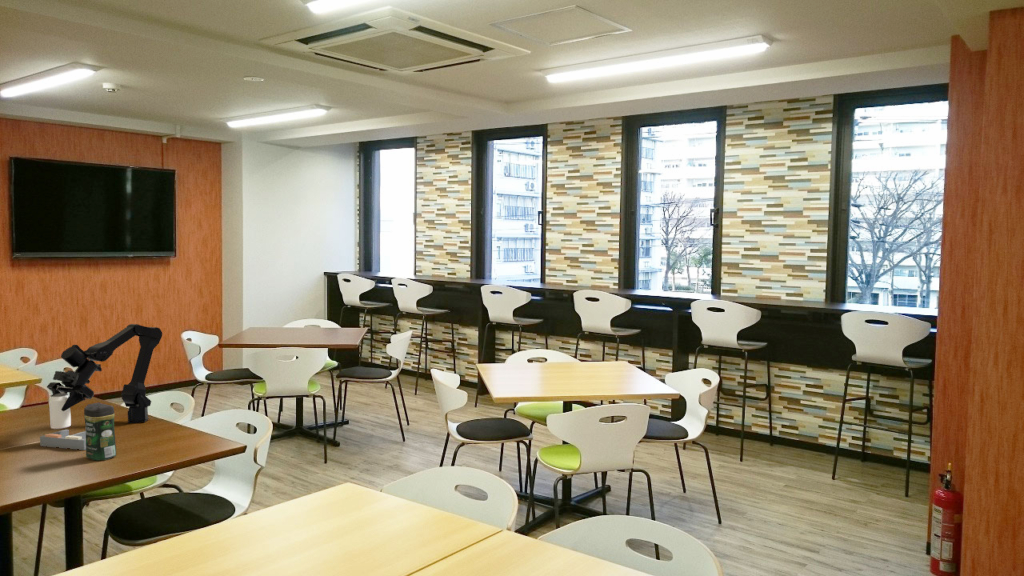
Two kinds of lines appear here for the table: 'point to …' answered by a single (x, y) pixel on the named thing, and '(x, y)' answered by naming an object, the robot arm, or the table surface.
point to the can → (59, 411)
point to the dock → (64, 440)
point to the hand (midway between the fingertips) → (56, 409)
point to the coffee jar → (99, 431)
